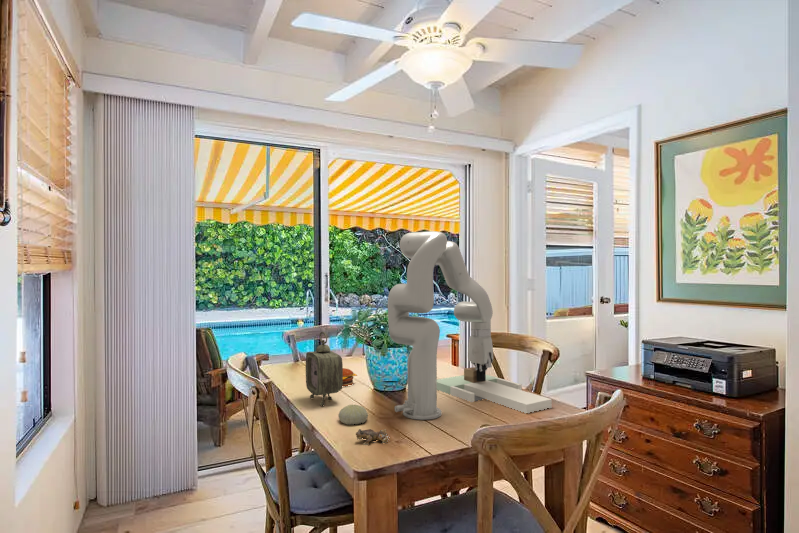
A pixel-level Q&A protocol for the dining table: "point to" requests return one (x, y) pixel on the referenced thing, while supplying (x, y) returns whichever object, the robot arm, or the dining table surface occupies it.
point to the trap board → (494, 393)
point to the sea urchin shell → (353, 414)
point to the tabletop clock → (323, 371)
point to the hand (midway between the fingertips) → (481, 380)
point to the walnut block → (470, 375)
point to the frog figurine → (372, 435)
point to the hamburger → (347, 377)
